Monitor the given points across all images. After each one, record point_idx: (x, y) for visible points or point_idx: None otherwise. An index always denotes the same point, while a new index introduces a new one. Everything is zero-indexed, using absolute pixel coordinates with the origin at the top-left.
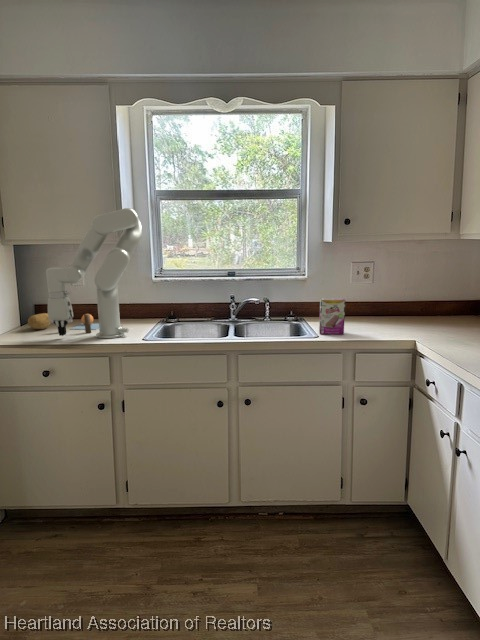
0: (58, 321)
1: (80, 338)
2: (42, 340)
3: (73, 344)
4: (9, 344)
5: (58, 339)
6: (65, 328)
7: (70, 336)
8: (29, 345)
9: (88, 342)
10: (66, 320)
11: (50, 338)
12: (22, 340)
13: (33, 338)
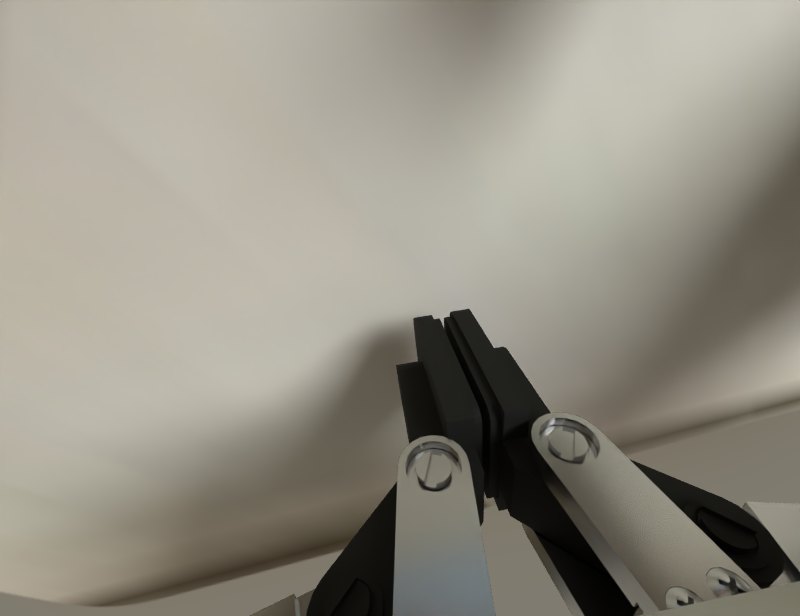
0: (417, 600)
1: (640, 250)
2: (241, 436)
3: (634, 444)
4: (81, 591)
5: (391, 358)
6: (535, 404)
7: (450, 173)
8: (292, 555)
9: (751, 366)
10: (720, 570)
11: (245, 347)
12: (3, 496)
13: (6, 406)
